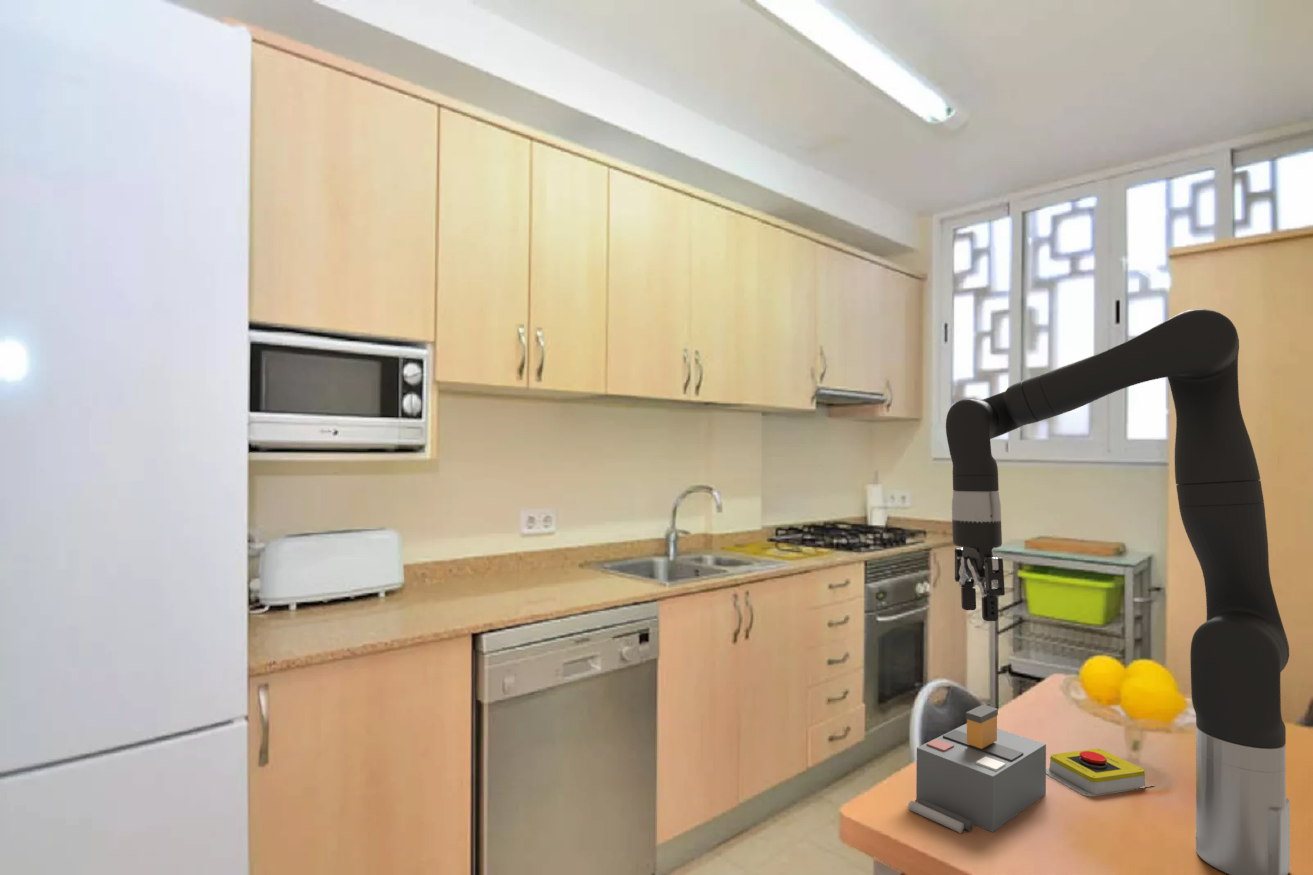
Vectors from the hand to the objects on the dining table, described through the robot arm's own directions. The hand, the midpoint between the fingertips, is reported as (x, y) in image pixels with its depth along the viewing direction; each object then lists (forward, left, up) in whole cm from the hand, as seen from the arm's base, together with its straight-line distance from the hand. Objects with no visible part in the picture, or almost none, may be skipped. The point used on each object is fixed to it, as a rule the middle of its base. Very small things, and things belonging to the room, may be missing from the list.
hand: (979, 615), depth 115 cm
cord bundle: (-3, +17, -28) cm, 32 cm away
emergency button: (-12, -17, -28) cm, 35 cm away
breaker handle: (-3, +5, -19) cm, 20 cm away
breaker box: (-3, +5, -28) cm, 28 cm away
